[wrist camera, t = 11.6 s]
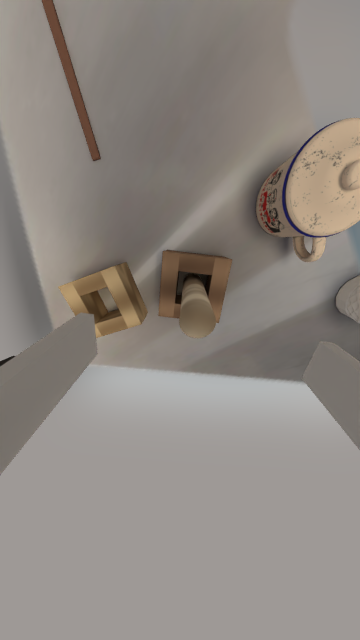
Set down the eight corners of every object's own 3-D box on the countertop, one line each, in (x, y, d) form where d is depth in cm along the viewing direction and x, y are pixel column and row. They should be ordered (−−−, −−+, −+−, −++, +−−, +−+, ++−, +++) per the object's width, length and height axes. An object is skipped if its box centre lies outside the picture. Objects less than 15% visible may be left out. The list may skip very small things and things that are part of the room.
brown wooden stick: (38, -12, 18) (36, -16, 18) (47, -16, 18) (45, -20, 18) (93, 160, 24) (92, 159, 23) (100, 158, 24) (99, 157, 23)
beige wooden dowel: (184, 272, 29) (181, 302, 14) (203, 274, 29) (219, 307, 14) (182, 290, 30) (177, 335, 15) (200, 292, 30) (212, 340, 15)
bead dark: (166, 250, 28) (162, 251, 23) (224, 256, 28) (232, 259, 23) (162, 305, 31) (158, 316, 27) (214, 311, 31) (218, 323, 27)
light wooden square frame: (77, 280, 30) (58, 286, 26) (126, 262, 29) (114, 265, 24) (103, 326, 33) (90, 339, 29) (147, 312, 32) (141, 324, 27)
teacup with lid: (250, 173, 24) (302, 115, 13) (324, 150, 22) (450, 66, 12) (257, 265, 28) (300, 279, 17) (319, 250, 27) (407, 256, 16)
